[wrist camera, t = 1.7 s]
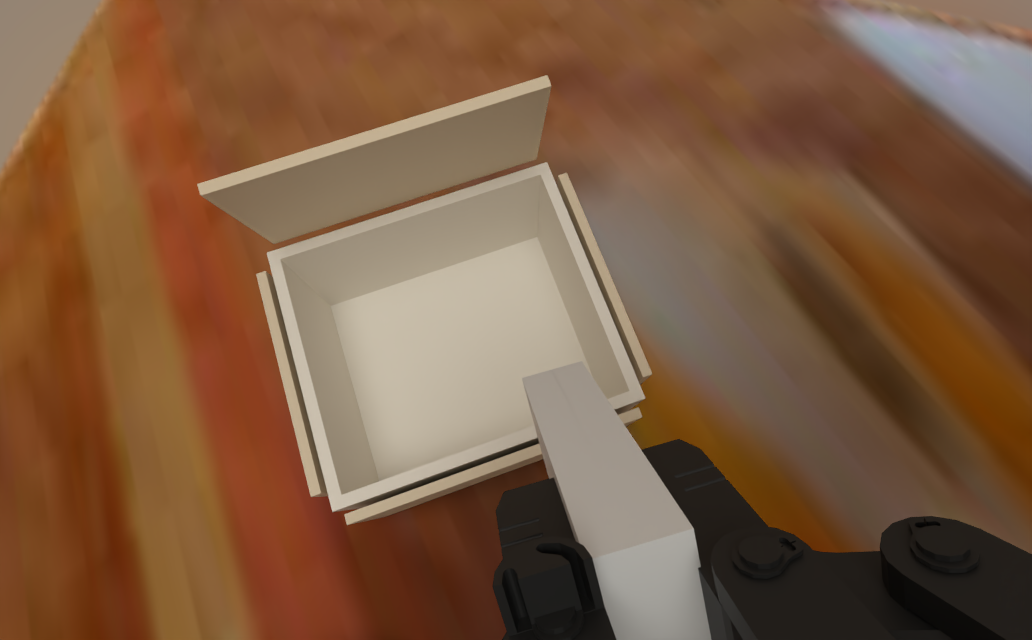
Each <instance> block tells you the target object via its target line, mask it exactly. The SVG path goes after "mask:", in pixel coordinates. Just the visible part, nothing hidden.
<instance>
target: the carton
mask: <svg viewBox="0 0 1032 640" xmlns="http://www.w3.org/2000/svg"><path fill="white" fill-rule="evenodd" d="M267 256H268V260H269V264H270V268H271V272H272V275H273V277H272V276H271V275H270V274H268V273H267V272H266V271H264V272H261V273H258V274H256V275H257V279H258V283H259V287H260V292H261V296H262V300H263V304H264V308H265V312H266V316H267V320H268V324H269V328H270V332H271V336H272V340H273V345H274V349H275V353H276V357H277V361H278V365H279V369H280V373H281V377H282V381H283V385H284V389H285V393H286V397H287V402H288V406H289V410H290V414H291V418H292V422H293V426H294V430H295V434H296V438H297V442H298V446H299V450H300V455H301V459H302V463H303V467H304V471H305V475H306V479H307V483H308V487H309V491H310V495H311V497H320V496H329V500H330V504H331V508H332V512H335V511H343V510H351V509H358V508H361V509H358V510H355V511H352V512H350V513H347V514H344V515H345V519H346V523H347V525H349V524H354V523H359V522H363V521H368V520H373V519H377V518H382V517H386V516H389V515H392V514H394V513H397V512H400V511H403V510H405V509H408V508H411V507H414V506H416V505H419V504H422V503H424V502H427V501H430V500H433V499H435V498H438V497H441V496H444V495H446V494H449V493H452V492H455V491H457V490H460V489H463V488H465V487H468V486H471V485H474V484H476V483H479V482H482V481H485V480H487V479H490V478H493V477H495V476H498V475H501V474H504V473H506V472H509V471H512V470H515V469H517V468H520V467H523V466H525V465H528V464H531V463H534V462H536V461H539V460H542V459H543V455H542V451H541V448H540V444H539V440H538V437H537V433H536V429H535V425H534V422H533V418H532V414H531V410H530V407H529V403H528V399H527V396H526V392H525V388H524V384H523V381H522V378H523V377H527V376H531V375H534V374H538V373H541V372H545V371H548V370H552V369H555V368H559V367H562V366H566V365H570V364H573V363H577V362H580V361H582V362H583V364H584V365H585V367H586V368H587V370H588V371H589V373H590V374H591V376H592V377H593V379H594V380H595V382H596V383H597V385H598V386H599V388H600V389H601V391H602V392H603V394H604V395H605V397H606V398H607V400H608V401H609V403H610V404H611V406H612V407H613V409H614V410H615V412H616V413H617V415H618V416H619V418H620V419H621V421H622V422H623V424H624V425H625V426H628V425H630V424H632V423H633V422H635V421H637V420H638V419H640V418H642V415H641V412H640V410H639V407H638V408H635V409H633V410H630V409H631V408H633V407H634V406H636V405H637V404H638V403H640V402H641V401H642V400H644V399H645V396H644V393H643V391H642V389H641V386H640V385H641V384H642V383H643V382H644V381H645V380H646V379H647V378H649V377H650V376H651V375H652V372H651V369H650V367H649V365H648V362H647V360H646V358H645V355H644V353H643V351H642V348H641V346H640V344H639V341H638V339H637V337H636V334H635V332H634V330H633V327H632V325H631V323H630V320H629V318H628V315H627V313H626V311H625V308H624V306H623V304H622V301H621V299H620V297H619V294H618V292H617V290H616V287H615V285H614V283H613V280H612V278H611V276H610V273H609V271H608V269H607V266H606V264H605V261H604V259H603V257H602V254H601V252H600V250H599V247H598V245H597V243H596V240H595V238H594V236H593V233H592V231H591V229H590V226H589V224H588V222H587V219H586V217H585V215H584V212H583V210H582V207H581V205H580V203H579V200H578V198H577V196H576V193H575V191H574V189H573V186H572V184H571V182H570V179H569V177H568V175H567V173H565V174H561V175H558V183H557V185H556V183H555V180H554V178H553V176H552V173H551V171H550V168H549V166H548V164H547V162H546V163H543V164H540V165H536V166H533V167H530V168H527V169H524V170H521V171H518V172H515V173H512V174H509V175H506V176H502V177H499V178H496V179H493V180H490V181H487V182H484V183H481V184H478V185H475V186H472V187H469V188H465V189H462V190H459V191H456V192H453V193H450V194H447V195H444V196H441V197H438V198H435V199H431V200H428V201H425V202H422V203H419V204H416V205H413V206H410V207H407V208H404V209H401V210H397V211H394V212H391V213H388V214H385V215H382V216H379V217H376V218H373V219H370V220H367V221H363V222H360V223H357V224H354V225H351V226H348V227H345V228H342V229H339V230H336V231H333V232H330V233H326V234H323V235H320V236H317V237H314V238H311V239H308V240H305V241H302V242H299V243H296V244H292V245H289V246H286V247H283V248H280V249H277V250H274V251H271V252H268V253H267ZM629 410H630V411H629Z"/></svg>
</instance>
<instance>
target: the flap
mask: <svg viewBox="0 0 1032 640" xmlns="http://www.w3.org/2000/svg"><path fill="white" fill-rule="evenodd" d="M550 90H551V84H550V81H549V78H548V76H547V75H546V76H543V77H540V78H537V79H534V80H530V81H527V82H524V83H521V84H517V85H514V86H511V87H508V88H505V89H501V90H498V91H495V92H492V93H489V94H485V95H482V96H479V97H476V98H473V99H469V100H466V101H463V102H460V103H456V104H453V105H450V106H447V107H444V108H440V109H437V110H434V111H431V112H428V113H424V114H421V115H418V116H415V117H411V118H408V119H405V120H402V121H399V122H395V123H392V124H389V125H386V126H383V127H379V128H376V129H373V130H370V131H366V132H363V133H360V134H357V135H354V136H350V137H347V138H344V139H341V140H338V141H334V142H331V143H328V144H325V145H321V146H318V147H315V148H312V149H309V150H305V151H302V152H299V153H296V154H293V155H289V156H286V157H283V158H280V159H277V160H273V161H270V162H267V163H264V164H260V165H257V166H254V167H251V168H248V169H244V170H241V171H238V172H235V173H232V174H228V175H225V176H222V177H219V178H215V179H212V180H209V181H206V182H203V183H199V184H197V185H198V188H199V192H200V195H201V196H202V197H204V198H205V199H207V200H208V201H210V202H211V203H213V204H214V205H216V206H217V207H219V208H220V209H222V210H223V211H225V212H226V213H228V214H229V215H231V216H232V217H234V218H235V219H237V220H238V221H240V222H241V223H243V224H244V225H246V226H248V227H249V228H251V229H252V230H254V231H255V232H257V233H258V234H260V235H261V236H263V237H264V238H266V239H267V240H269V241H270V242H272V243H273V244H276V243H279V242H282V241H285V240H288V239H291V238H294V237H297V236H300V235H303V234H307V233H310V232H313V231H316V230H319V229H322V228H325V227H328V226H331V225H334V224H338V223H341V222H344V221H347V220H350V219H353V218H356V217H359V216H362V215H365V214H368V213H372V212H375V211H378V210H381V209H384V208H387V207H390V206H393V205H396V204H399V203H403V202H406V201H409V200H412V199H415V198H418V197H421V196H424V195H427V194H430V193H434V192H437V191H440V190H443V189H446V188H449V187H452V186H455V185H458V184H461V183H465V182H468V181H471V180H474V179H477V178H480V177H483V176H486V175H489V174H492V173H495V172H499V171H502V170H505V169H508V168H511V167H514V166H517V165H520V164H523V163H526V162H530V161H533V160H536V159H537V154H538V149H539V144H540V139H541V134H542V129H543V125H544V120H545V115H546V110H547V105H548V100H549V95H550Z"/></svg>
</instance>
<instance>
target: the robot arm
mask: <svg viewBox="0 0 1032 640" xmlns="http://www.w3.org/2000/svg"><path fill="white" fill-rule="evenodd" d="M522 381H523V384H524V388H525V392H526V396H527V399H528V403H529V407H530V410H531V414H532V418H533V422H534V425H535V429H536V433H537V437H538V440H539V444H540V448H541V451H542V455H543V459H544V463H545V466H546V470H547V474H548V477H549V479H546V480H543V481H539V482H536V483H533V484H529V485H526V486H522V487H519V488H515V489H512V490H508V491H505V492H504V493H503V495H502V498H501V500H500V502H499V505H498V507H497V509H496V515H497V522H498V529H499V535H500V542H501V547H502V556H503V560H502V561H501V563H500V565H499V566H498V568H497V569H496V571H495V574H494V581H493V589H494V593H495V596H496V599H497V602H498V605H499V608H500V611H501V614H502V617H503V620H504V624H505V627H506V630H507V632H506V634H505V636H504V637H503V639H502V640H1032V554H1030V553H1028V552H1026V551H1024V550H1022V549H1020V548H1018V547H1016V546H1014V545H1012V544H1010V543H1008V542H1006V541H1003V540H1001V539H999V538H997V537H995V536H993V535H991V534H989V533H987V532H985V531H983V530H981V529H979V528H976V527H974V526H971V525H968V524H965V523H963V522H960V521H957V520H952V519H946V518H940V517H933V516H927V517H910V518H907V519H904V520H901V521H898V522H895V523H892V524H891V525H890V526H889V527H888V528H887V529H886V530H885V531H884V532H883V533H882V536H881V543H880V551H873V552H848V553H831V552H819V551H814V550H812V549H811V548H810V547H809V546H808V545H807V544H806V543H804V542H803V541H802V540H800V539H799V538H798V537H796V536H795V535H794V534H791V533H788V532H785V531H783V530H780V529H777V528H770V527H768V526H767V525H766V524H765V522H764V521H763V520H762V519H761V518H760V517H759V516H758V514H757V513H756V512H755V511H754V510H753V509H752V508H751V506H750V505H749V504H748V503H747V502H746V501H745V500H744V498H743V497H742V496H741V495H740V494H739V493H738V491H737V490H736V489H735V488H734V487H733V486H732V485H731V483H730V482H729V481H728V480H726V479H725V477H724V475H723V474H722V473H721V472H720V471H719V470H718V469H717V467H714V464H713V463H712V462H711V461H710V459H709V458H708V457H707V456H706V455H705V454H704V452H703V451H702V450H701V449H699V448H697V447H695V446H693V445H691V444H689V443H687V442H684V441H682V440H680V439H677V440H674V441H670V442H667V443H663V444H660V445H657V446H653V447H650V448H646V449H643V450H641V449H640V447H639V446H638V444H637V443H636V441H635V440H634V438H633V437H632V435H631V434H630V432H629V431H628V429H627V428H626V426H625V425H624V424H623V422H622V421H621V419H620V418H619V416H618V415H617V413H616V412H615V410H614V409H613V407H612V406H611V404H610V403H609V401H608V400H607V398H606V397H605V395H604V394H603V392H602V391H601V389H600V388H599V386H598V385H597V383H596V382H595V380H594V379H593V377H592V376H591V374H590V373H589V371H588V370H587V368H586V367H585V365H584V364H583V362H582V361H580V362H577V363H573V364H570V365H566V366H562V367H559V368H555V369H552V370H548V371H545V372H541V373H538V374H534V375H531V376H527V377H523V378H522Z"/></svg>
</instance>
